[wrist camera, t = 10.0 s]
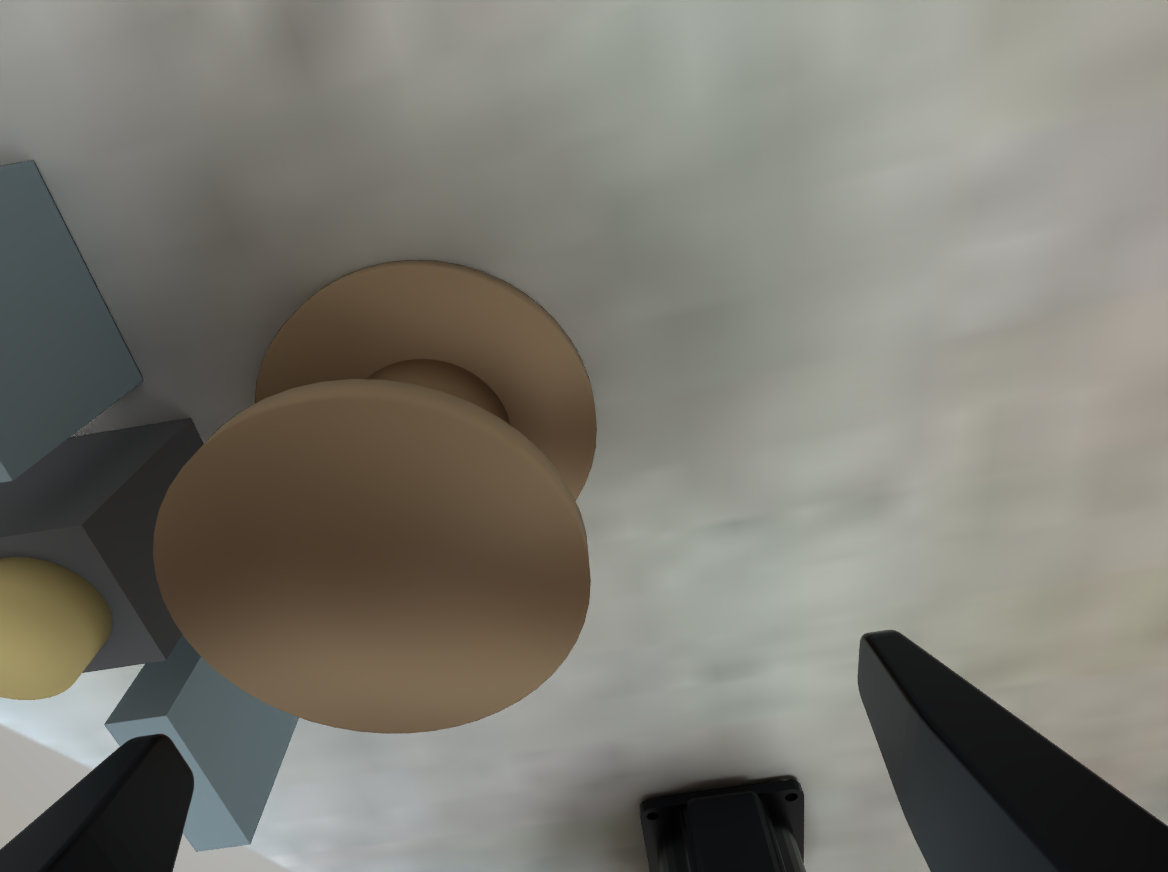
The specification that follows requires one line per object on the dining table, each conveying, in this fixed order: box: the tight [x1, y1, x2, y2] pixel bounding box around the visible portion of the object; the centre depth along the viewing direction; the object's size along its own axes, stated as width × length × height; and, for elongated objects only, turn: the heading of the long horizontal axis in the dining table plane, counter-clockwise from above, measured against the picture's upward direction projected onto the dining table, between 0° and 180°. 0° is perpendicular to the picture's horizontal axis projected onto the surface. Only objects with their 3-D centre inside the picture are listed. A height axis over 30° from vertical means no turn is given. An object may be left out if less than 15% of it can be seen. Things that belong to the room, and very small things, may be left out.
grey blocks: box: [0, 160, 299, 852], centre depth 18 cm, size 18×2×5 cm, turn 9°
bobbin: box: [153, 260, 597, 733], centre depth 16 cm, size 9×9×7 cm
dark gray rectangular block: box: [0, 418, 204, 700], centre depth 17 cm, size 4×4×6 cm
